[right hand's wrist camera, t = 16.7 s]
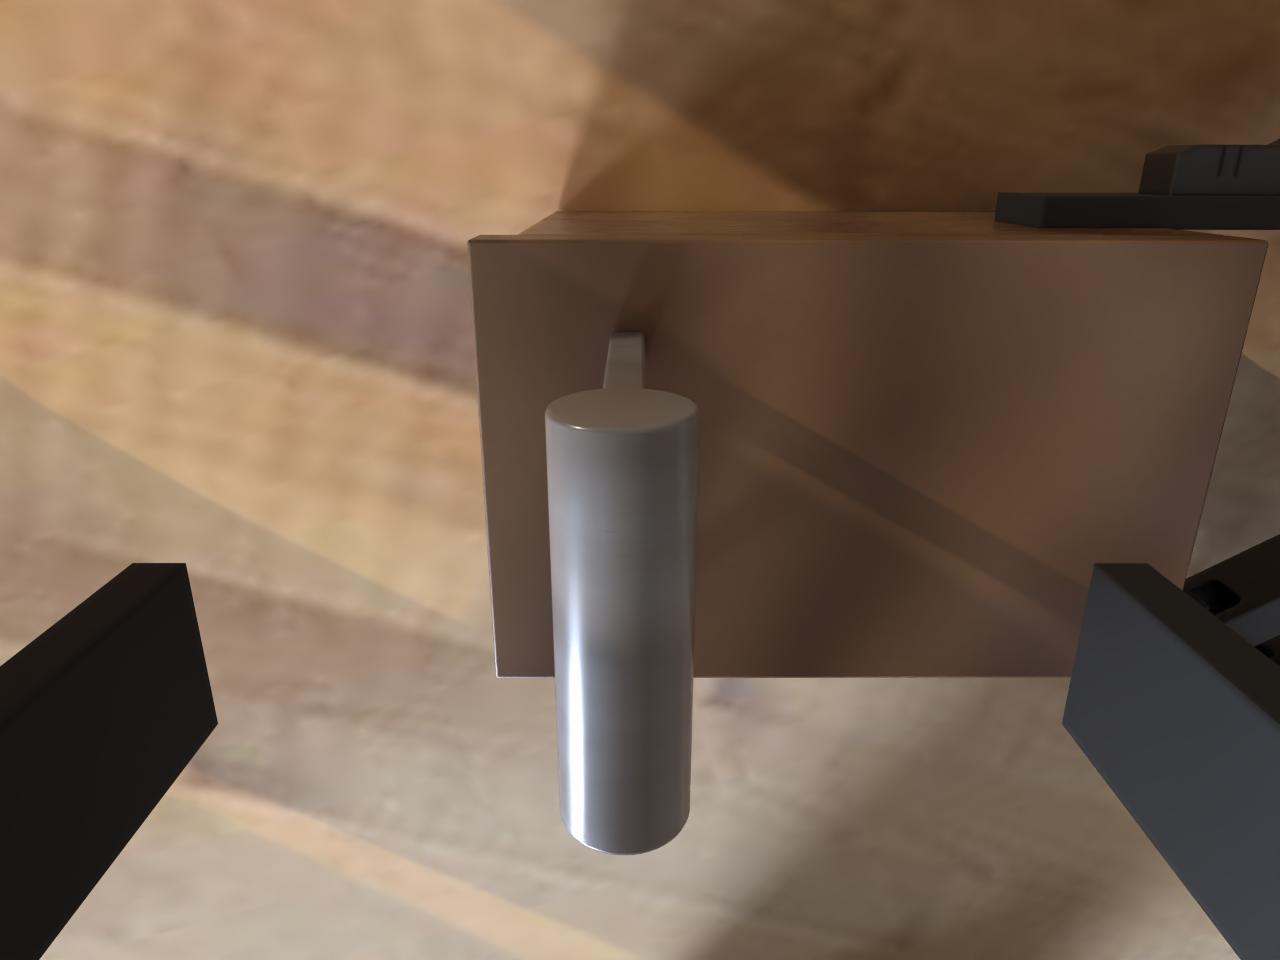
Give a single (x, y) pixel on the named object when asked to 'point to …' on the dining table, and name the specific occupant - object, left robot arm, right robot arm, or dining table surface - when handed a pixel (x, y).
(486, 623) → the dining table surface
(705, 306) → the lid
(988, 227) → the chest
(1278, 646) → the left robot arm
